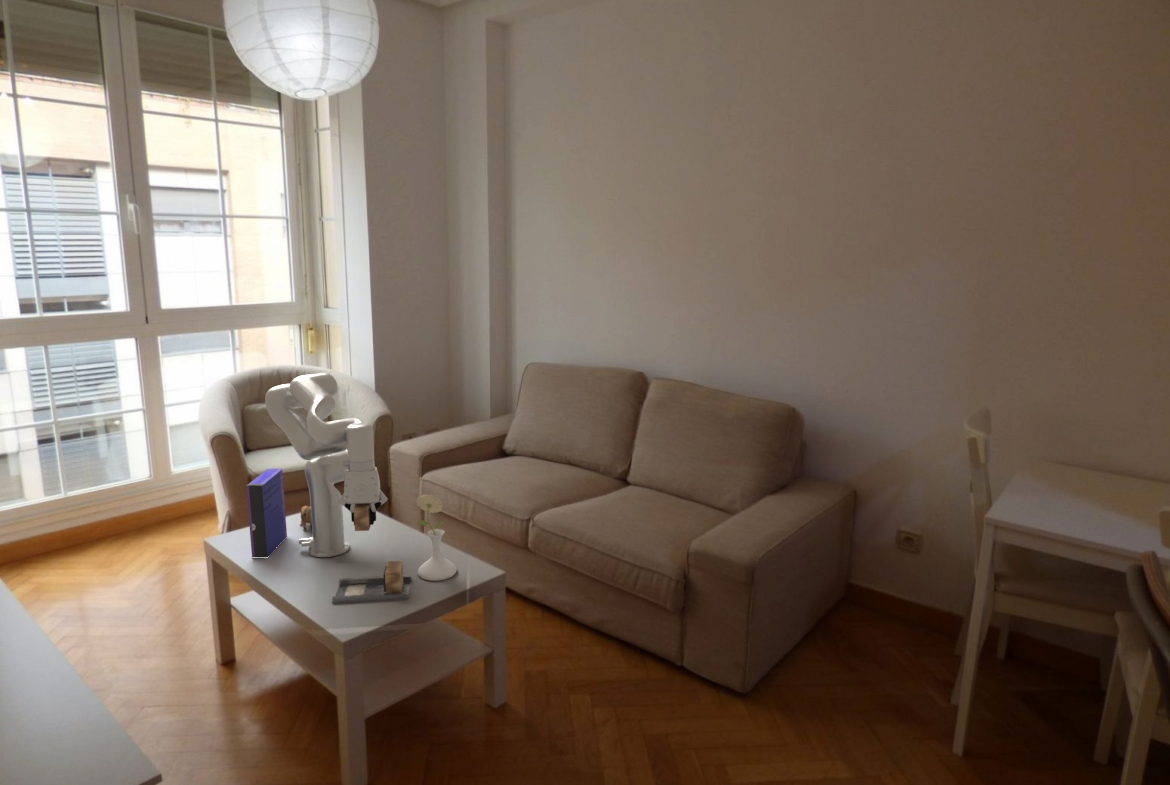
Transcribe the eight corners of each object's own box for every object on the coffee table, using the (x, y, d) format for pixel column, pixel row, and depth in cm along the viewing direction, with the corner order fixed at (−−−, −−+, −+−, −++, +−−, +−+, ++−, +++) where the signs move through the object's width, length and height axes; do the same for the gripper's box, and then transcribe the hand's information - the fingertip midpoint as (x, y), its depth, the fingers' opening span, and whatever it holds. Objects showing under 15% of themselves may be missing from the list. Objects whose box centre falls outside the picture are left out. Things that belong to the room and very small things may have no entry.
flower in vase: (464, 573, 226) (462, 494, 221) (439, 588, 216) (436, 505, 211) (431, 564, 232) (429, 486, 227) (405, 577, 223) (402, 497, 218)
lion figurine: (321, 531, 258) (320, 506, 256) (305, 535, 254) (304, 510, 253) (309, 519, 269) (307, 495, 268) (293, 522, 266) (292, 498, 264)
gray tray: (332, 606, 204) (332, 598, 204) (340, 586, 216) (339, 578, 216) (407, 602, 207) (407, 594, 207) (411, 582, 219) (411, 574, 219)
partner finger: (383, 596, 208) (382, 573, 207) (387, 584, 216) (386, 561, 215) (400, 595, 209) (399, 572, 208) (403, 583, 217) (402, 560, 215)
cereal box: (272, 537, 253) (267, 468, 248) (287, 537, 253) (282, 468, 248) (252, 558, 235) (246, 485, 231) (267, 558, 236) (261, 485, 231)
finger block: (354, 531, 221) (353, 508, 220) (358, 521, 229) (357, 499, 227) (369, 530, 222) (368, 507, 220) (373, 520, 229) (372, 498, 228)
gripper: (329, 469, 217) (332, 529, 220) (389, 467, 219) (391, 526, 223) (334, 462, 224) (337, 520, 227) (391, 460, 226) (394, 517, 230)
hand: (364, 522), depth 225 cm, fingers closed on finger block, 4 cm apart
